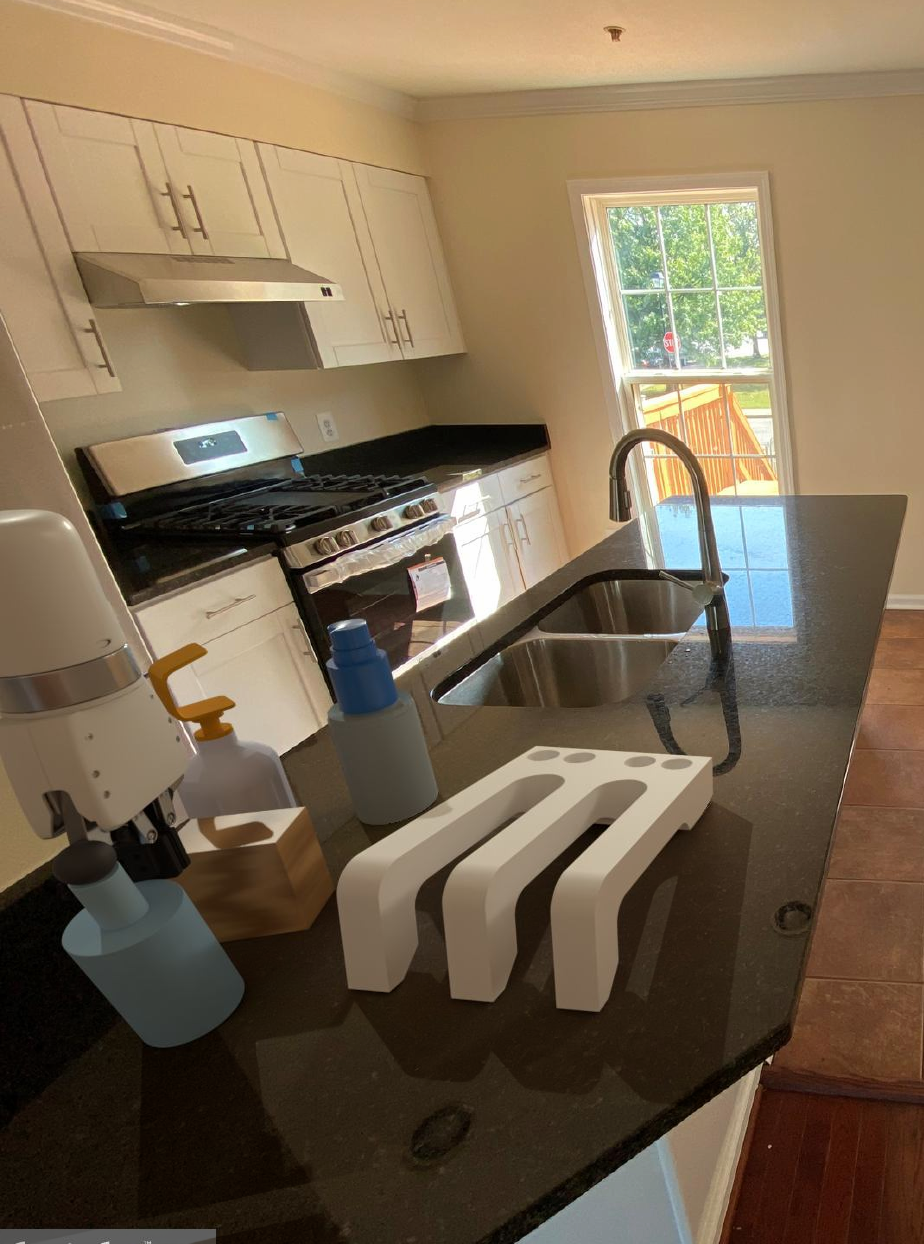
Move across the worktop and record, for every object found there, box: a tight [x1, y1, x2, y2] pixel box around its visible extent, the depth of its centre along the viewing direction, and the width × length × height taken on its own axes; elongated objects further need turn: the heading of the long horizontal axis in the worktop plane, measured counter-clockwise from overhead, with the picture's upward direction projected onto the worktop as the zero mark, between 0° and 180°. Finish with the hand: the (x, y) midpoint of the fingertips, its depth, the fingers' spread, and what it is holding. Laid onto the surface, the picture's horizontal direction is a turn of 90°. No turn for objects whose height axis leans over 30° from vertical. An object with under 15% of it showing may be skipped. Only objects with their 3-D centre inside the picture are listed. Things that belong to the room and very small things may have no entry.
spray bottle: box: [325, 618, 439, 826], centre depth 87 cm, size 9×9×25 cm
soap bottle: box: [147, 642, 298, 821], centre depth 81 cm, size 9×9×25 cm
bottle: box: [51, 840, 246, 1049], centre depth 57 cm, size 13×7×20 cm
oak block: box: [164, 806, 336, 944], centre depth 72 cm, size 10×6×11 cm, turn 104°
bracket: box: [336, 745, 714, 1013], centre depth 79 cm, size 24×12×32 cm
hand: (164, 873), depth 60 cm, fingers closed
